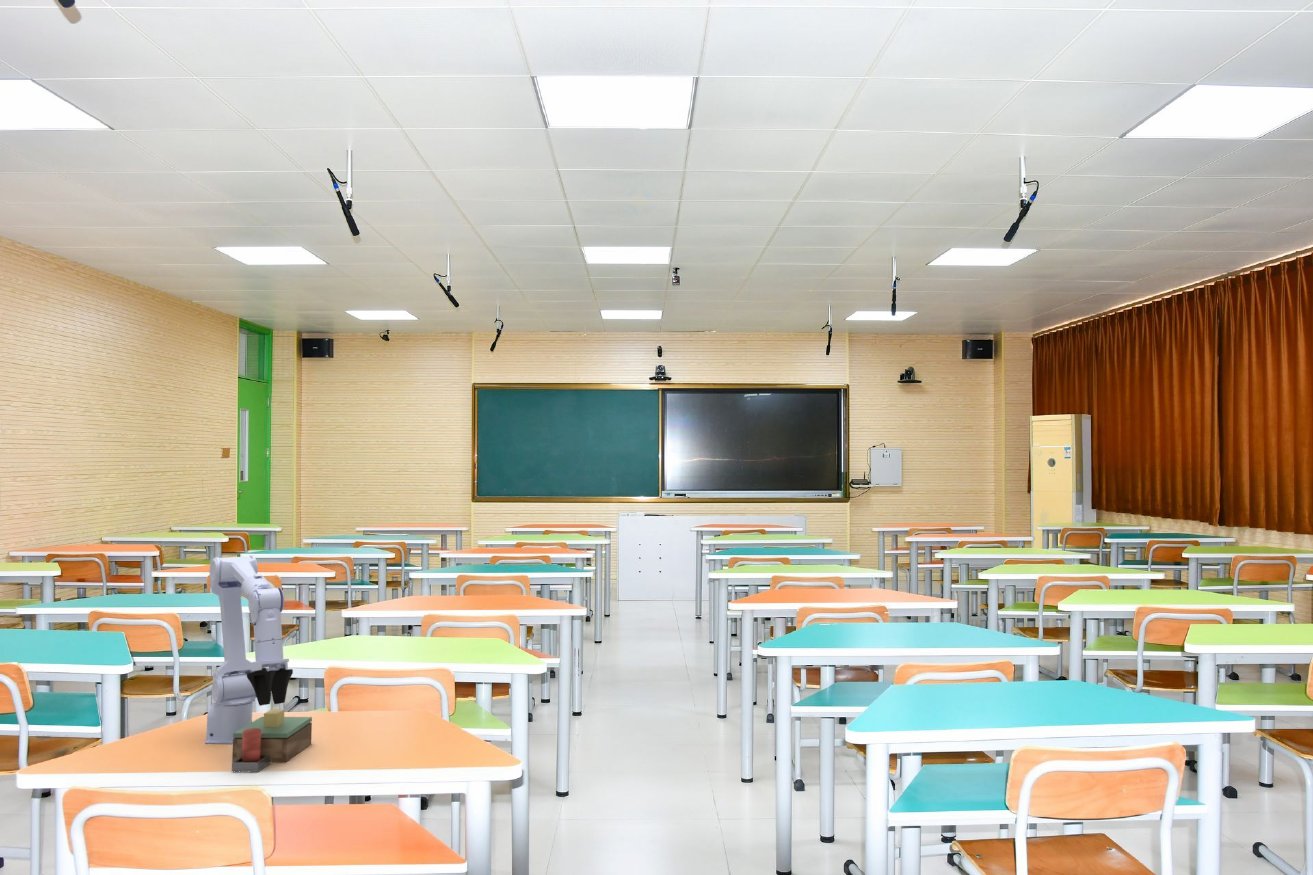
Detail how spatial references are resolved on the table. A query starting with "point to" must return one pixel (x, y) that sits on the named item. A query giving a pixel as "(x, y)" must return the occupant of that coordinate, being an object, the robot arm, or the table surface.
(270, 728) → the lid
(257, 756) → the key peg
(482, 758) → the table surface
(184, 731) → the table surface
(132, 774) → the table surface
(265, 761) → the key socket
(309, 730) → the wooden box
